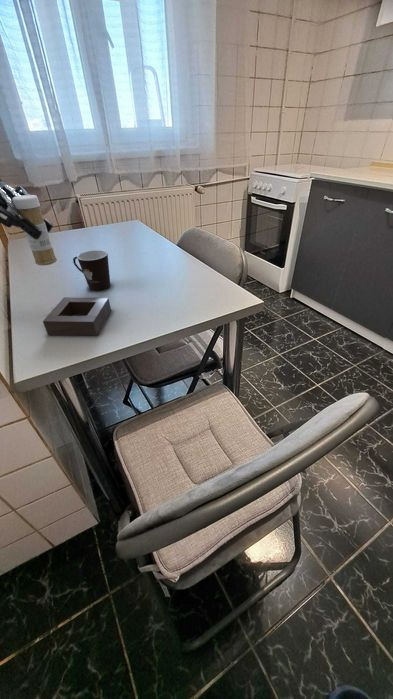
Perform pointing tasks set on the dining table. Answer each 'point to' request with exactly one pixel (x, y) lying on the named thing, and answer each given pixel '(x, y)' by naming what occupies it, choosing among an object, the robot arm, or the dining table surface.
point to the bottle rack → (77, 317)
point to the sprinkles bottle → (32, 212)
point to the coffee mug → (94, 269)
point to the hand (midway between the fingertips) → (45, 232)
